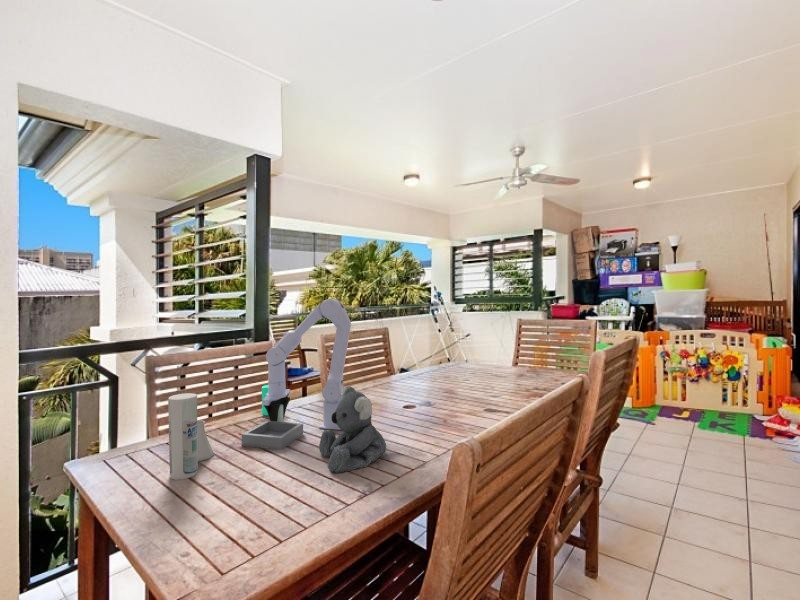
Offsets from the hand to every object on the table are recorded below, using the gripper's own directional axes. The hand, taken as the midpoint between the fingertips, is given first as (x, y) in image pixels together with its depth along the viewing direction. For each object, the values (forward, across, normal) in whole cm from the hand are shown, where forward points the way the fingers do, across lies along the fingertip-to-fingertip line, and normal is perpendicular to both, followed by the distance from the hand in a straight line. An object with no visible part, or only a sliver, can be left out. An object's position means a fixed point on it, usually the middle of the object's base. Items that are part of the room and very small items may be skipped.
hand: (277, 420), depth 140 cm
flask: (+2, +29, -7) cm, 30 cm away
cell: (+2, 0, 0) cm, 2 cm away
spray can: (+2, +39, -3) cm, 39 cm away
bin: (+2, +12, +6) cm, 14 cm away
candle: (+2, -13, -11) cm, 17 cm away
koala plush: (+2, +19, +36) cm, 41 cm away
